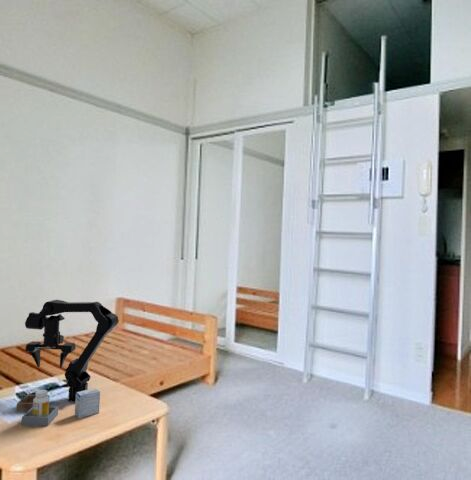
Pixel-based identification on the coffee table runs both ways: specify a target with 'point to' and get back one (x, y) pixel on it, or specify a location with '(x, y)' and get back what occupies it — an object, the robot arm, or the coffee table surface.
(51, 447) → the coffee table surface
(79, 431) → the coffee table surface
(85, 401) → the medicine box
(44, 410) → the supplement bottle
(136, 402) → the coffee table surface
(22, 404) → the holder
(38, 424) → the tray
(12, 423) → the coffee table surface
